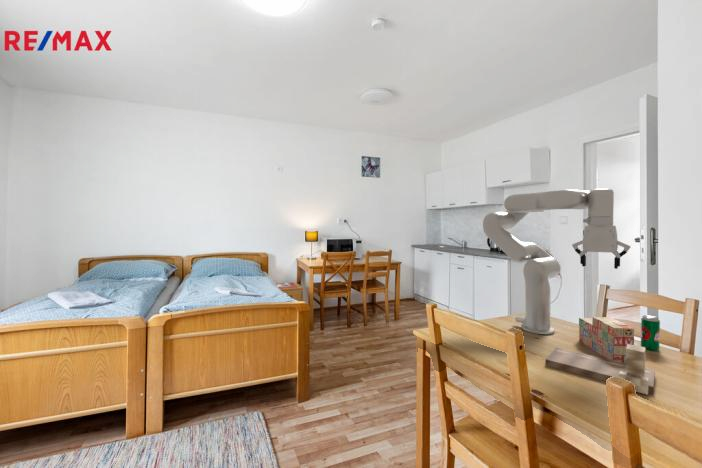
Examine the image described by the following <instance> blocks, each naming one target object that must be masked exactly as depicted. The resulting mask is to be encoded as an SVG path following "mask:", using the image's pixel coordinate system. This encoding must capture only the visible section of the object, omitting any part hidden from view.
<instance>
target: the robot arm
mask: <svg viewBox="0 0 702 468" xmlns="http://www.w3.org/2000/svg"><path fill="white" fill-rule="evenodd" d="M614 195H615V193H614V190H613V189H611V188H596V189H595V188H594V189H590V190H580V189H562V190H561V189H560V190H559V189H558V190H551V191H538V192H537V191H536V192H529V193H528V192H527V193H515V194H511V195H509V196H507V197H506V198H505V199H504V202H503V205H504V208H505V211H492V212H489V213H487V214H486V215H485V216H484V218H483V220H482V229H483V231H484V234H485V235H486V237H487V238H488V239H489V241H491V242H492V243H493V244H494V245H496V246H497V247H498V248H499V249H500V250H501V251H502V252H503V253H504V254H505V255H506V256H507V257H508V258H510V259H511V260H512V261H513V262H514V263H519V264H521V263H522V264H523V263H524V265H523V272H522V273H523V277H524V287H525V298H524V299H525V302H524V303H525V311H524V313H525V314H524V317H521V316H520V317H519V316H515V317H514V318H515V322H516V323H521V326H520V327H521V329H522V330H523V331H525V332H528V333H530V334H531V333H532V334H536V335H552V334H554V333H555V328H554V327H552V326H551V301H552V300H551V285H550V282H549V279H552V278H555V277H557V276H559V274H560V273H561V265H560V262H559V261H558V260H557V259H556V258H555V257H554V256H553V255H551V254H550V253H549V252H548V251H546V250H545V249H544V248H542V247H541V246H540V245H538V244H537V243H535V242H532V241H521V240H520V239H518V238H517V237H516V236H514V234H513V233H511V232H509V231H507V230H508V229H512V228H514V227H515V226H516V225H517V224H518V223H520V221H522V220H523V219H524V218H525V217H526V216H527V215H528V214H529V213H539V212H540V213H541V212H544V211H550V210H587V218H583V220H582V222H583V223H586V224H587V225H584V230H583V235H582V240H580V241H577V242H575V243H572V245H571V246H572V248H573V249H574V251H575V253H576V254H578V255H579V259H580V265H581V267H586V266H587V255H586V254H587V253H588V252H590V253H612V254H613V255H614V259H613V260H614V264H613V265H614V267H613V268H614V269H616V270H617V269H618V267H619V268H620V267H621V258H622V257H623V256H624V255H626V254H627V253H628V252H629V250H630V249H631V245H628V244H627V243H624V242H622V241H620V240H618V232H617V227H616V225H614V206H615V205H614V202H615V201H614ZM580 245H582V250H581V249H579V246H580ZM618 246H620V247H622V248H624V249H623V250H621V252H619V251H618V248H619V247H618Z"/></svg>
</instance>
